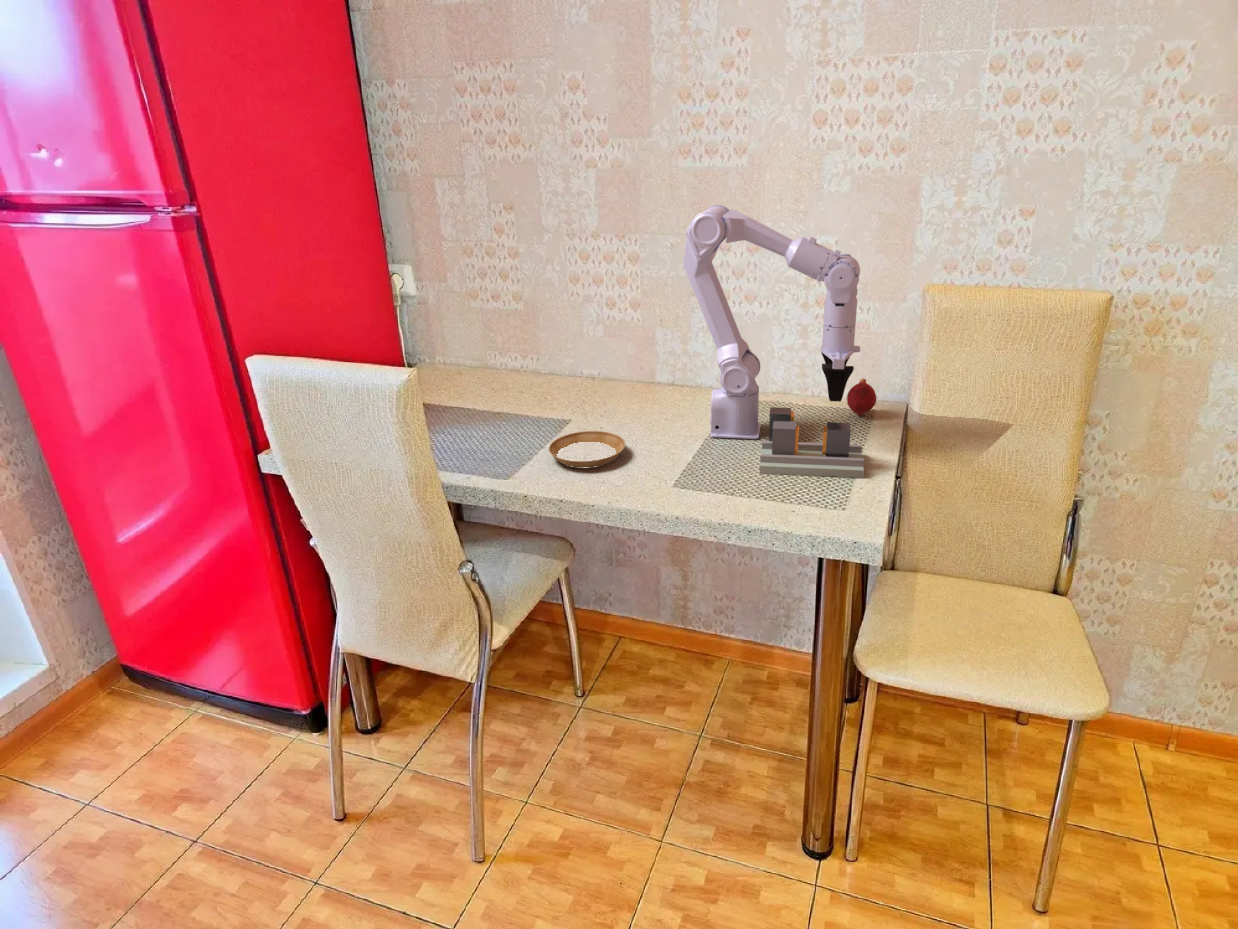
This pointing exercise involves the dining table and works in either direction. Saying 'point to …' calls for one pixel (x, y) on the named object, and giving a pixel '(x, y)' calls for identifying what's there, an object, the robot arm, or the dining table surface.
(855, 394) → the onion
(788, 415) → the block
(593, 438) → the plant saucer
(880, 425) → the dining table surface
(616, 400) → the dining table surface
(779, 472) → the rail
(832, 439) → the brushed grey cube
